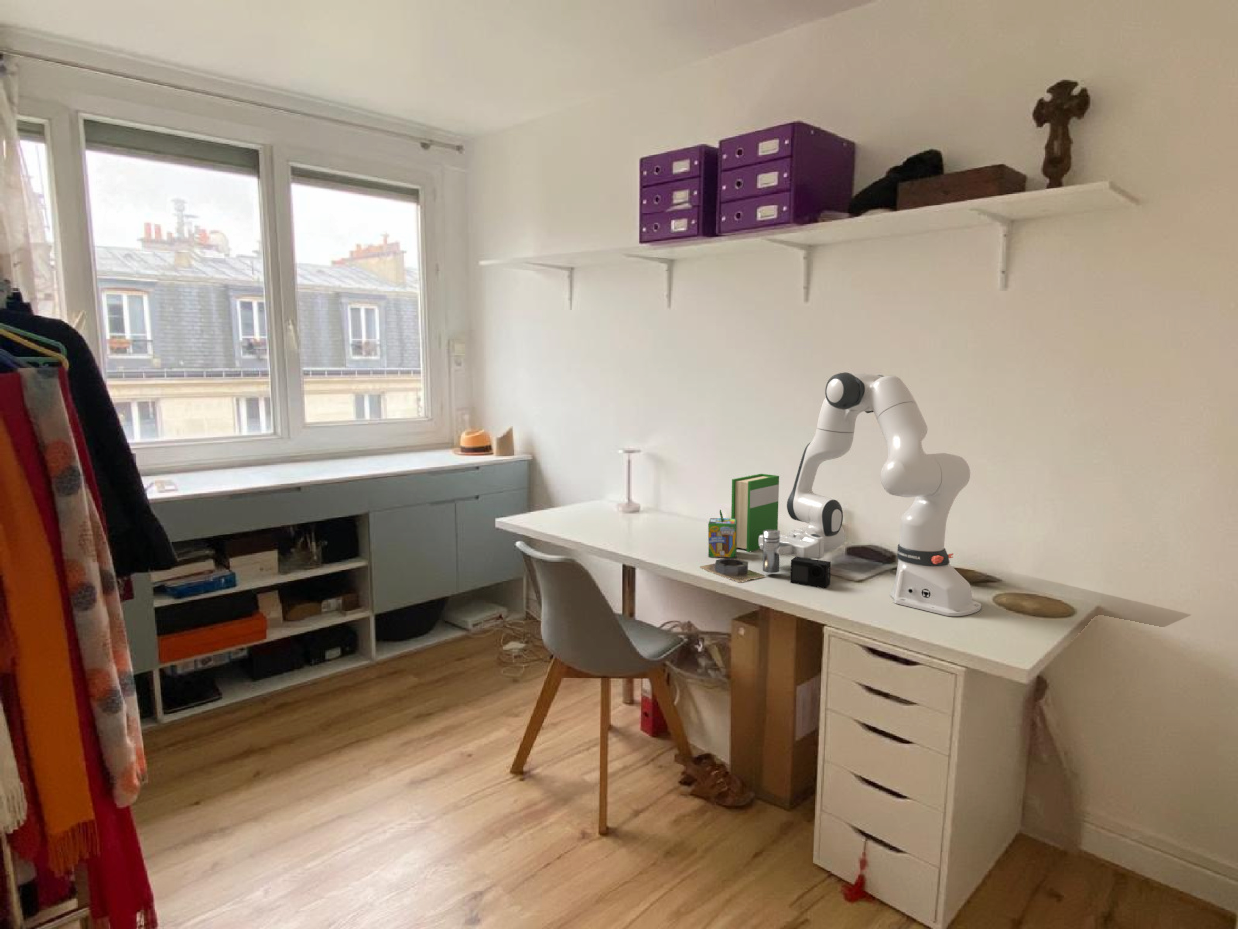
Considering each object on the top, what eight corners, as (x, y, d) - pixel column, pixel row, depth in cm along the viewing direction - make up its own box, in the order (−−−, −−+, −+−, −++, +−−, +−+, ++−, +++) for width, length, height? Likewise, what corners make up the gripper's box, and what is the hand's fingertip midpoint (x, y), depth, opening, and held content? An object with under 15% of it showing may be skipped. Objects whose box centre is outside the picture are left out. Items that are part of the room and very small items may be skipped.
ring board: (764, 577, 217) (764, 567, 217) (739, 582, 212) (739, 572, 212) (724, 563, 232) (724, 554, 232) (699, 568, 227) (699, 558, 226)
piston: (782, 571, 218) (783, 531, 217) (770, 573, 216) (771, 533, 214) (771, 567, 222) (771, 528, 221) (759, 570, 220) (759, 530, 218)
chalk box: (735, 558, 238) (736, 514, 236) (707, 557, 240) (708, 513, 238) (737, 551, 247) (738, 508, 245) (709, 550, 249) (710, 507, 247)
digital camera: (788, 584, 211) (788, 560, 210) (794, 579, 215) (795, 556, 214) (824, 590, 205) (824, 565, 204) (829, 585, 210) (830, 561, 209)
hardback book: (748, 552, 246) (750, 481, 243) (730, 548, 251) (732, 479, 248) (777, 543, 259) (779, 475, 256) (759, 539, 264) (761, 473, 261)
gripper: (777, 527, 233) (745, 532, 226) (827, 538, 216) (794, 544, 209) (777, 546, 234) (745, 552, 227) (827, 559, 217) (794, 566, 210)
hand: (769, 549), depth 218 cm, fingers closed on piston, 5 cm apart
